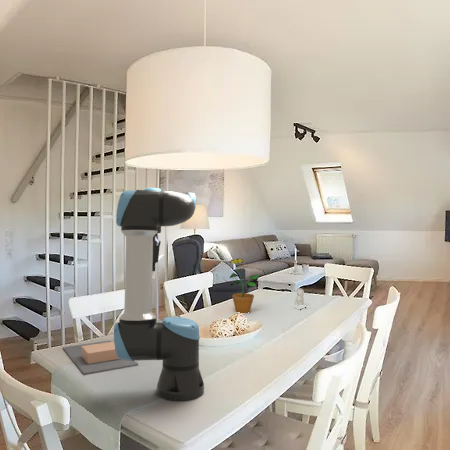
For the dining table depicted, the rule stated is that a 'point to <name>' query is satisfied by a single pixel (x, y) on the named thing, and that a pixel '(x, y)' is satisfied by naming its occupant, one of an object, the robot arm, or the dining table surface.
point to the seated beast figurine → (299, 297)
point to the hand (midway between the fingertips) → (151, 278)
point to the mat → (86, 368)
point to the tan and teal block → (99, 352)
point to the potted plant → (243, 299)
